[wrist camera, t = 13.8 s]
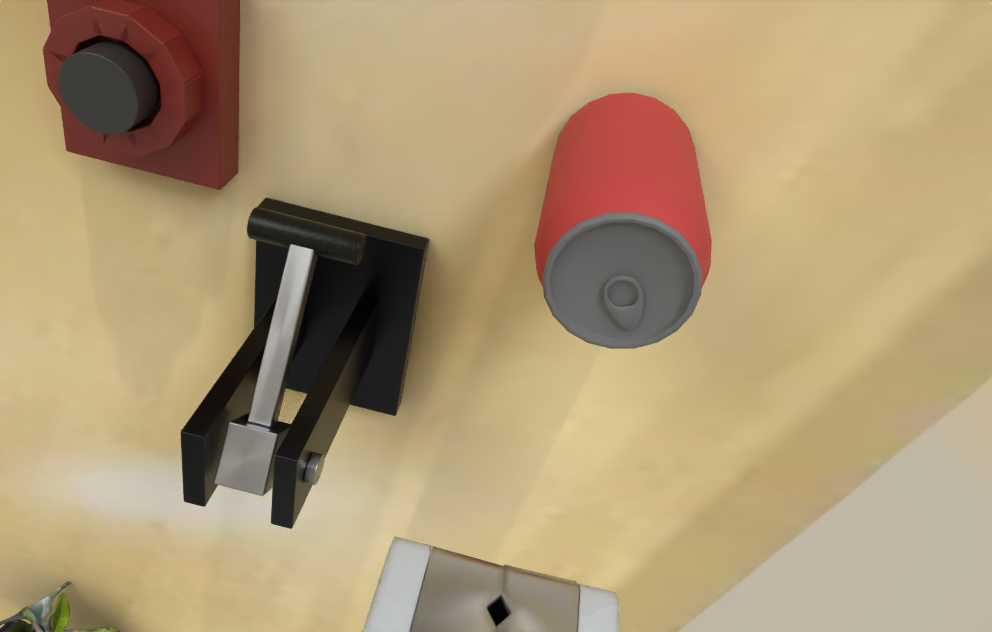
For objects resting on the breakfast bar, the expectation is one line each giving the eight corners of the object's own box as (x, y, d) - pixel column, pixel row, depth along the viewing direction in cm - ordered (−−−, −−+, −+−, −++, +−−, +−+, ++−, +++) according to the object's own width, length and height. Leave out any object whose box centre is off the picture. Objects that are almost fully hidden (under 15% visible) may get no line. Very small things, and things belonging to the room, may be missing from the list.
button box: (69, -71, 35) (10, -57, 32) (240, -28, 35) (199, -10, 32) (91, 135, 41) (43, 165, 37) (238, 173, 40) (203, 206, 37)
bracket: (265, 196, 41) (125, 348, 30) (429, 238, 41) (352, 405, 30) (259, 368, 48) (144, 544, 37) (400, 403, 48) (329, 591, 36)
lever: (265, 209, 35) (247, 203, 33) (370, 236, 35) (360, 232, 33) (204, 463, 36) (182, 476, 33) (308, 490, 36) (294, 504, 33)
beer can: (570, 228, 40) (550, 371, 30) (540, 105, 36) (507, 220, 26) (702, 205, 38) (727, 349, 28) (683, 73, 34) (705, 183, 25)
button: (76, 32, 34) (52, 42, 32) (156, 52, 34) (135, 63, 32) (85, 110, 36) (62, 123, 34) (160, 129, 36) (140, 143, 34)
